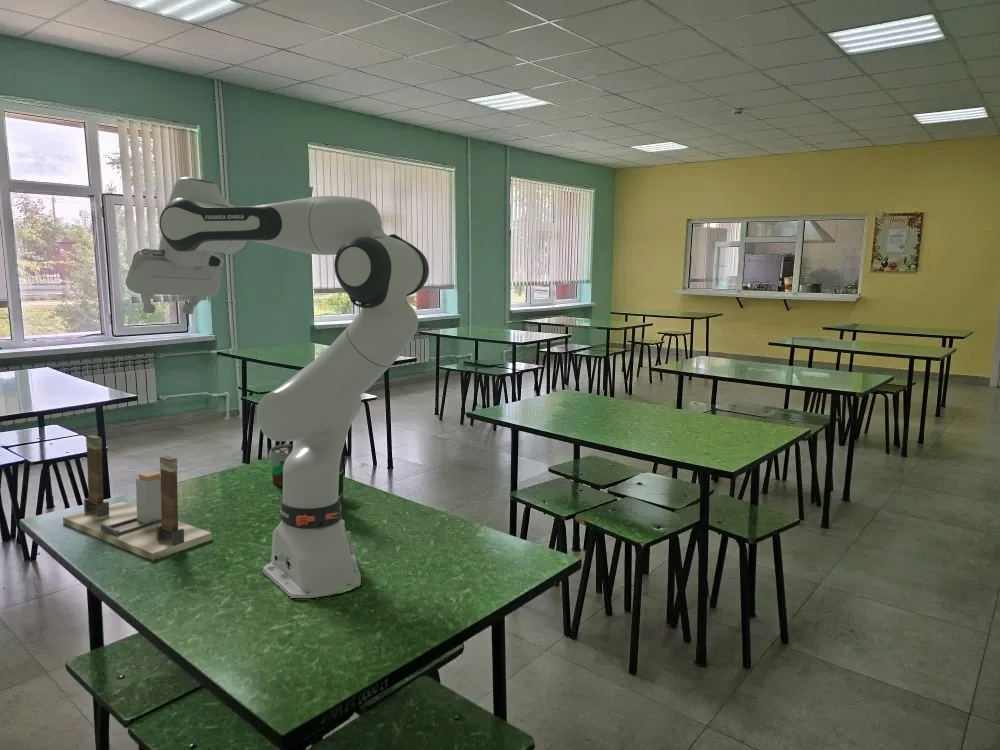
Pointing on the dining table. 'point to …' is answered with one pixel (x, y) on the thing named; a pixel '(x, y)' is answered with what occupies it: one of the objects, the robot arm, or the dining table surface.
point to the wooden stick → (94, 470)
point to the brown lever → (169, 495)
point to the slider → (148, 497)
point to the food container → (278, 462)
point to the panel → (134, 530)
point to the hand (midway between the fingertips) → (168, 312)
